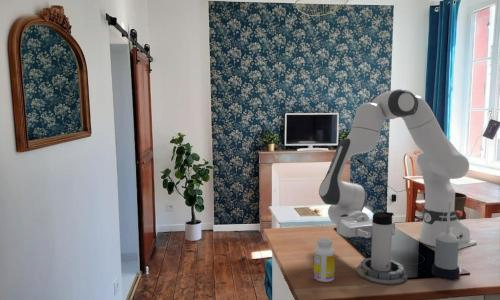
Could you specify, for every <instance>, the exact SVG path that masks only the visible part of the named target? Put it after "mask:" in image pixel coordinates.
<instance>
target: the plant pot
mask: <svg viewBox="0 0 500 300" xmlns="http://www.w3.org/2000/svg"><path fill="white" fill-rule="evenodd" d="M467 197H468V196H467V195H466V194H464V193H461V192H456V191H455V206H454V210H455V211H461V212H462V213H464V210H465V205H466V201H467ZM457 218H458V220H459V221H460V222H461V218H462V216H458V215H457Z"/></svg>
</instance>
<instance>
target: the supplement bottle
mask: <svg viewBox="0 0 500 300" xmlns="http://www.w3.org/2000/svg"><path fill="white" fill-rule="evenodd" d="M316 244H317V246H315V248H314V250H313V251H314V252H313V276H314V279H315V280H316V281H318V282H322V283H330V282H333V281H334V280H335V276H336V275H335V271H336V269H335V267H336V264H335V263H336V261H335V259H336V251H335V249H334V248H333V247H332V245H333V240H332V239H330V238H326V237H319V238H318V239H317V241H316Z"/></svg>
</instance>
